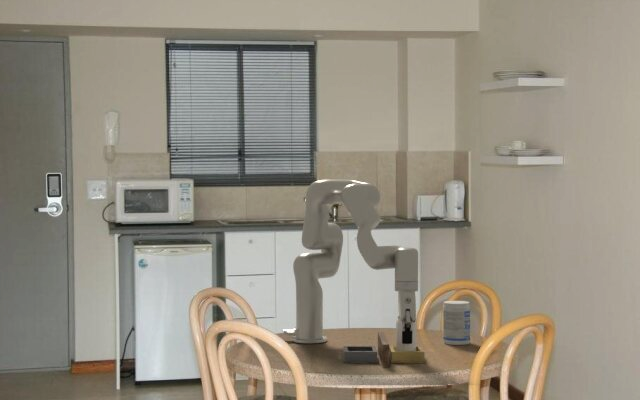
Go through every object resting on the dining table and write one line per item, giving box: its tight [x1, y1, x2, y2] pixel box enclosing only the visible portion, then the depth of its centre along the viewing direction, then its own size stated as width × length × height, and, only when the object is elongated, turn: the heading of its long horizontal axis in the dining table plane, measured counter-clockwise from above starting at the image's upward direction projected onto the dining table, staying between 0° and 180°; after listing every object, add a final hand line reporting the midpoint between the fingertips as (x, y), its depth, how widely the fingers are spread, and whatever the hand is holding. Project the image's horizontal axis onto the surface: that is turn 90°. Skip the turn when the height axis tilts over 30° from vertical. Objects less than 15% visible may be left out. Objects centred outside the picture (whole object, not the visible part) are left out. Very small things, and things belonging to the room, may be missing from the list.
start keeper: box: [342, 345, 378, 364], centre depth 313 cm, size 10×10×4 cm
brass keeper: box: [389, 345, 425, 364], centre depth 313 cm, size 10×10×4 cm
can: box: [395, 315, 417, 351], centre depth 313 cm, size 6×6×12 cm
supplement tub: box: [442, 300, 471, 346], centre depth 343 cm, size 10×10×15 cm
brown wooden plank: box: [377, 331, 390, 368], centre depth 313 cm, size 2×24×7 cm, turn 0°
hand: (406, 341), depth 313 cm, fingers closed on can, 6 cm apart
